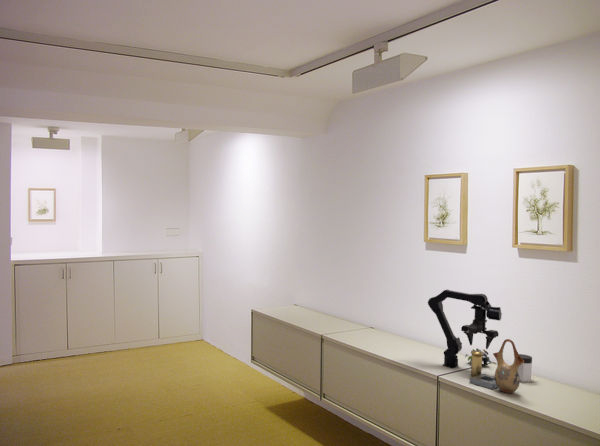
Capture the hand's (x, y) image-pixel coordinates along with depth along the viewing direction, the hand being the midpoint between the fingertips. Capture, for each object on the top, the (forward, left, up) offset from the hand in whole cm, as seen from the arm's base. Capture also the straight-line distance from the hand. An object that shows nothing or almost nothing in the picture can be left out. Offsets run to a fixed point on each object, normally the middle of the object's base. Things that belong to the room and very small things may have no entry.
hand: (478, 347), depth 281 cm
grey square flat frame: (+14, -15, -13) cm, 24 cm away
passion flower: (-6, +11, -13) cm, 18 cm away
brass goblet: (+5, -10, -13) cm, 17 cm away
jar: (+21, +7, -13) cm, 26 cm away
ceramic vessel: (+26, -18, -13) cm, 34 cm away
